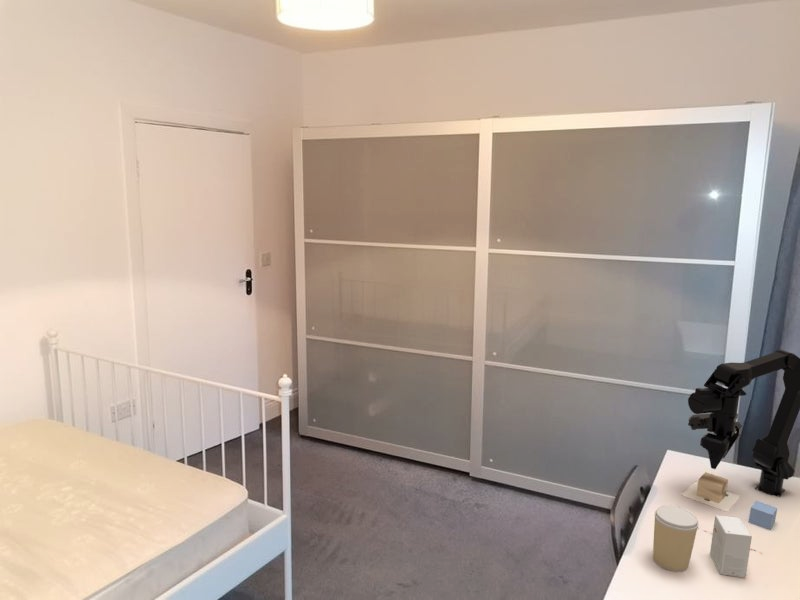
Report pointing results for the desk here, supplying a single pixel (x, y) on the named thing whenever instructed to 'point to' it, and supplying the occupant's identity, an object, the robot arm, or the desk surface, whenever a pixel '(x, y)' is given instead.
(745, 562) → the small box
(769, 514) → the slate blue cube
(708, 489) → the light oak block
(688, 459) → the desk surface
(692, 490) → the board
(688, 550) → the coffee cup
